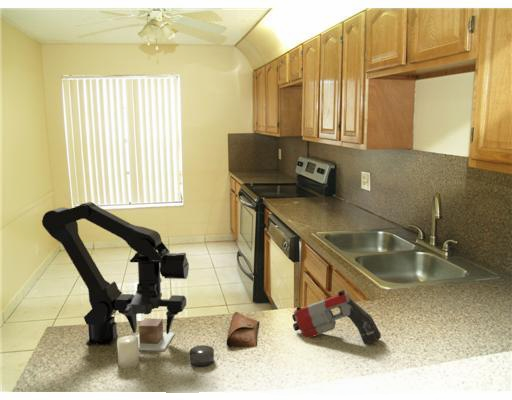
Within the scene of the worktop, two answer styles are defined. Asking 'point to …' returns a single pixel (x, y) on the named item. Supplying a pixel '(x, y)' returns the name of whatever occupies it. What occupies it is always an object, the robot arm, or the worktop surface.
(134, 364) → the stoneware jar
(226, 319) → the worktop surface
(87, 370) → the worktop surface
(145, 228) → the robot arm
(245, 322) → the sunglasses case
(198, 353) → the black tin
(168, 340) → the tile
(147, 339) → the walnut cube
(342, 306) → the toy gun
